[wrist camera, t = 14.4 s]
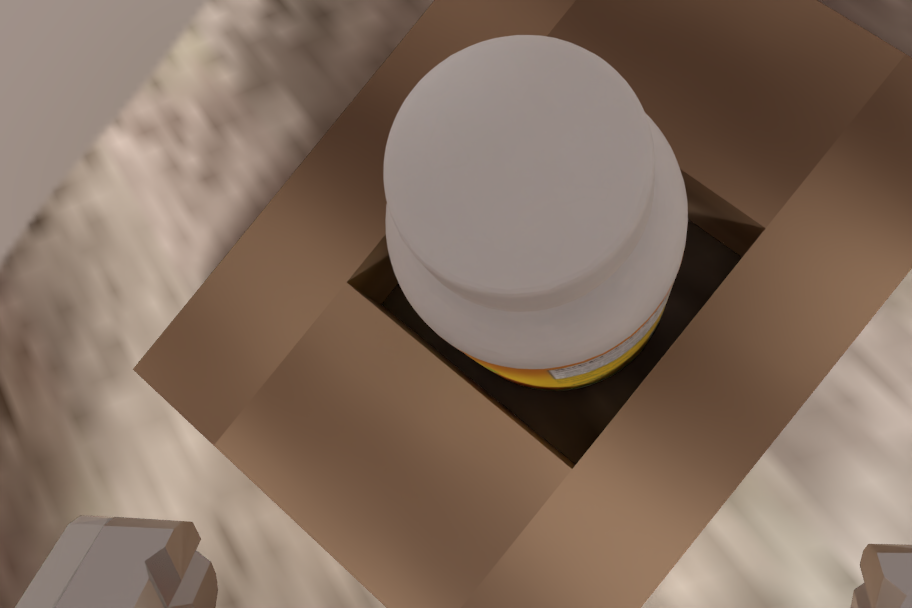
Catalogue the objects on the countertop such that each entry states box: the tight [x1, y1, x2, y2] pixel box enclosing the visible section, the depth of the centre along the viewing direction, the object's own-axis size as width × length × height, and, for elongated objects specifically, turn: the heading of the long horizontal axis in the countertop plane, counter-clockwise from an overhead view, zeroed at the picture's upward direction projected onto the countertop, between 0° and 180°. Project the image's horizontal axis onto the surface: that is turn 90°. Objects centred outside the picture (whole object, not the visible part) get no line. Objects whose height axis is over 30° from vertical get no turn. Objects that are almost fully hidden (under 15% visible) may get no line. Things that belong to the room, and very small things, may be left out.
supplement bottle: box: [383, 35, 688, 391], centre depth 17 cm, size 5×5×10 cm
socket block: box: [133, 0, 912, 608], centre depth 20 cm, size 16×12×3 cm
